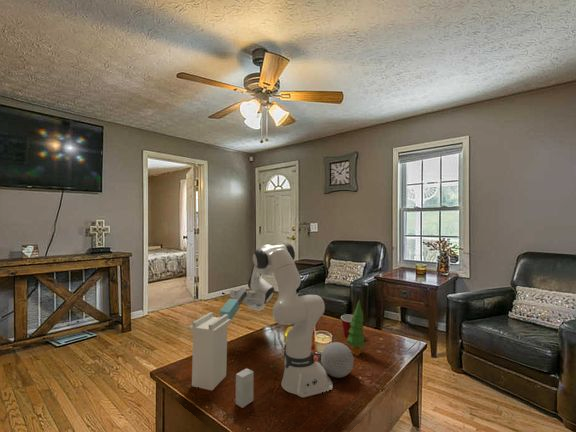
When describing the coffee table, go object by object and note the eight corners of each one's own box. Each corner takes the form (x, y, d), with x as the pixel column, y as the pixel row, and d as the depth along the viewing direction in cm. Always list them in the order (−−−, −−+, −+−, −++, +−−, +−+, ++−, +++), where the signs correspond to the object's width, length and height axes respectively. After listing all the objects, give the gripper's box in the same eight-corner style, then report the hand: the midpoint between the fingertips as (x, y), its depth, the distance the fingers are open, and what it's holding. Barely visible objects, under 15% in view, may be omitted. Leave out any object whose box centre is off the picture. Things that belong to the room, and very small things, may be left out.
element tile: (308, 345, 171) (308, 337, 171) (283, 342, 174) (283, 334, 174) (311, 335, 186) (311, 327, 186) (288, 332, 189) (288, 325, 189)
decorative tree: (365, 357, 158) (367, 301, 157) (348, 356, 158) (349, 300, 158) (361, 349, 167) (363, 296, 167) (344, 348, 168) (346, 295, 167)
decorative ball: (353, 370, 144) (355, 339, 144) (351, 387, 130) (353, 353, 130) (322, 365, 148) (324, 335, 148) (317, 380, 134) (319, 347, 134)
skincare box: (246, 396, 121) (246, 367, 121) (253, 401, 118) (254, 371, 118) (234, 403, 116) (235, 373, 116) (242, 408, 114) (242, 377, 114)
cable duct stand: (206, 370, 140) (208, 311, 140) (229, 375, 137) (230, 315, 137) (188, 386, 127) (189, 321, 127) (212, 392, 123) (214, 325, 123)
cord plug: (240, 292, 165) (239, 285, 164) (248, 293, 164) (247, 286, 162) (221, 319, 146) (220, 311, 144) (230, 320, 144) (229, 312, 143)
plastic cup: (339, 338, 181) (339, 319, 181) (341, 331, 191) (341, 313, 191) (357, 341, 178) (357, 321, 178) (358, 334, 188) (358, 315, 188)
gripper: (236, 291, 178) (226, 284, 166) (268, 295, 172) (260, 288, 160) (233, 301, 175) (223, 295, 163) (265, 306, 169) (258, 299, 157)
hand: (242, 291), depth 162 cm, fingers closed on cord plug, 3 cm apart
